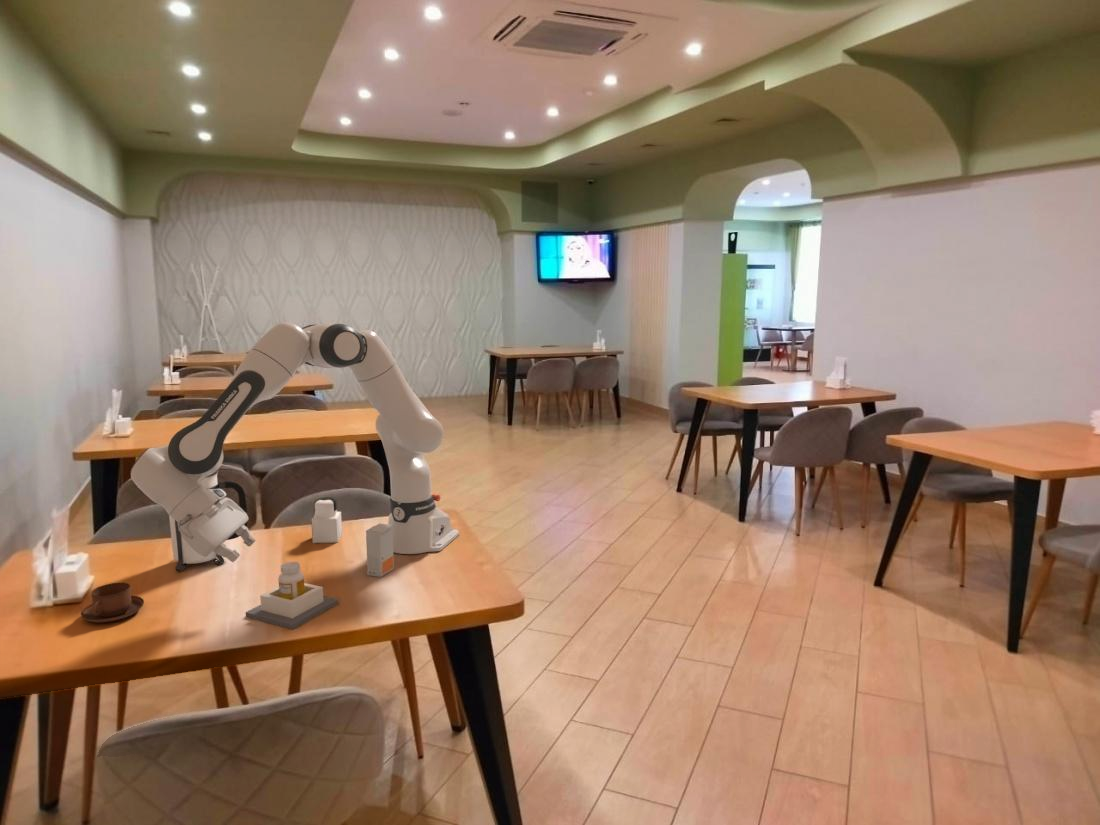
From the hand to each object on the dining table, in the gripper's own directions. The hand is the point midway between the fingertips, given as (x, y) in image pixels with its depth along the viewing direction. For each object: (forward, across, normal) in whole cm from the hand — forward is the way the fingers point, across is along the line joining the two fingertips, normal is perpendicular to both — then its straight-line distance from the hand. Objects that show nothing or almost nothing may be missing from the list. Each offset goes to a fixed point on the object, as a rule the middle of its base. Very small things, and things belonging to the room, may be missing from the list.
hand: (245, 551), depth 158 cm
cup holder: (+17, 0, +3) cm, 17 cm away
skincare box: (+28, +21, -8) cm, 36 cm away
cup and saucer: (-11, 0, +32) cm, 33 cm away
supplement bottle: (+16, 0, +3) cm, 17 cm away
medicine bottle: (+14, +47, +6) cm, 49 cm away
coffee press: (-6, +32, +27) cm, 42 cm away
